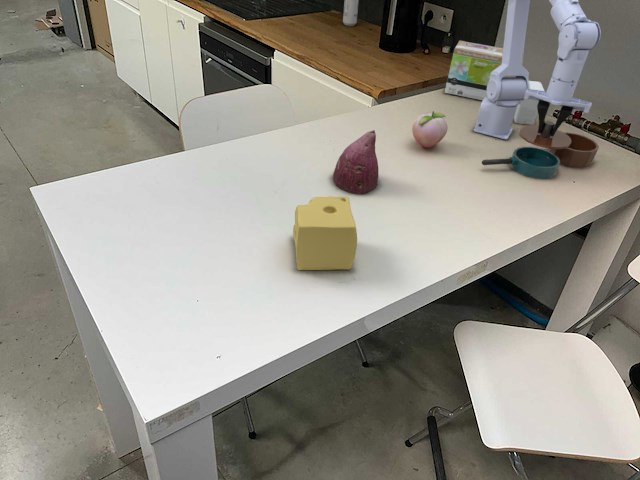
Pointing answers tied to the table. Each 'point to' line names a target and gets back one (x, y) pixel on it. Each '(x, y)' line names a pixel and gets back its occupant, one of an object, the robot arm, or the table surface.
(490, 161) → the pan handle
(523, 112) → the small box
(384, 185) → the table surface
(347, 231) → the cheese
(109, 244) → the table surface
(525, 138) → the lid
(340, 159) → the vegetable
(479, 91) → the tea box
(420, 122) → the decorative fruit
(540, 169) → the pan
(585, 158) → the casserole
